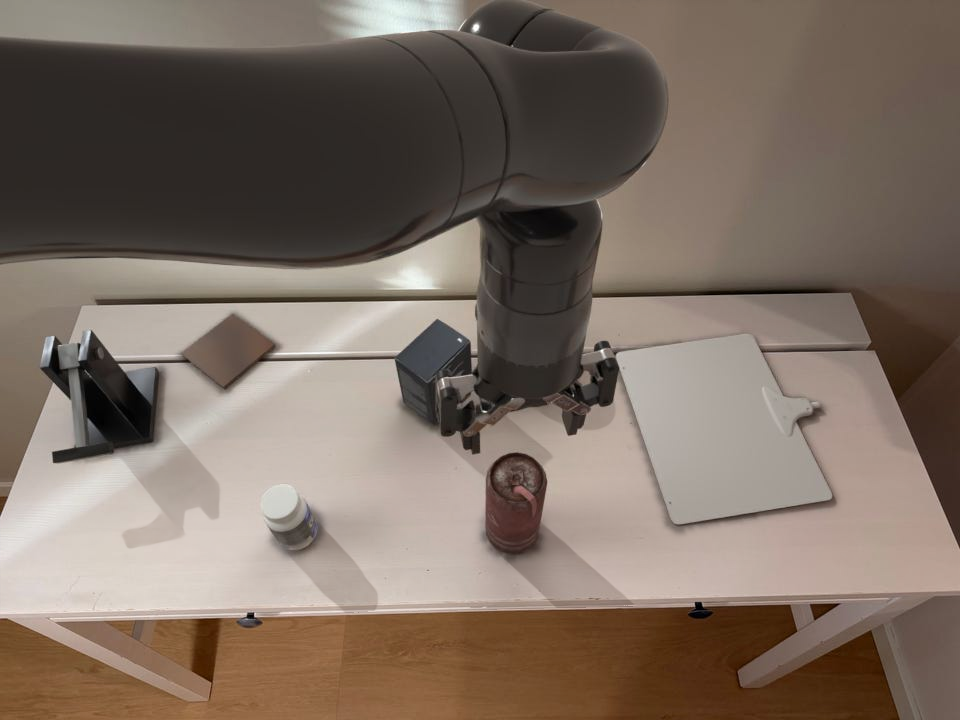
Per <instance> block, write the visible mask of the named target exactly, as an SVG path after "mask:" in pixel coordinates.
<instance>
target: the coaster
mask: <svg viewBox="0 0 960 720" xmlns="http://www.w3.org/2000/svg"><path fill="white" fill-rule="evenodd" d="M275 348H276V344H275V343H274V342H273V341H271V340H270V339H269V338H267V337H266V336H264V335H263V334H261V333H260V332H259V331H258V330H256V329H255V328H253V326H250V325H249V324H248V323H246V322H245V321H243V319H241V318H240V317H238V316H237V315H235V314H234V313H231V314H230V315H229V316H227V317H225V318H224V319H223V320H222V321H221V322H220V323H218V324H217V325H216V326H214V327H213V328H212V329H210V330H209V331H208V332H207V333H205V334H204V335H203V336H202V337H200V338H199V339H197V340H196V341H195V342H194V343H193V344H191V345H190V346H189V347H187V348H186V349H185V350H183V351H182V352H181V353H180V354H181V356H182V357H183V358H184V359H185V360H186V361H188V362H189V363H191V364H192V365H193V366H194V367H195V368H197V369H198V370H199V371H201V372H202V373H203V374H204V375H206V376H207V377H208V378H210V379H211V380H212V381H213V382H214V383H216V384H217V385H218V386H220V387H221V388H222V389H224V390H226V389H228V387H230V386H231V385H232V384H233V383H235V382H236V381H237V380H238V379H239V378H240V377H242V376H243V375H244V374H245V373H246V372H247V371H249V370H250V369H251V368H252V367H253V366H255V365H256V364H257V363H258V362H260V361H261V360H262V359H263V358H265V356H266V355H268V354H269V353H270V352H271V351H273V350H274V349H275Z"/></svg>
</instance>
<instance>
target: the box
mask: <svg viewBox="0 0 960 720" xmlns="http://www.w3.org/2000/svg"><path fill="white" fill-rule="evenodd" d="M394 363H395V368H396V373H397V378H398V383H399V387H400V393H401V398H402V403H403V404H405V405H406V406H407V407H408V408H410V409H411V410H413V412H415V413H416V414H418V415H419V416H420V417H422V418H423V419H424V420H425V421H426V422H428V423H430V424H431V425H432V426H435V425H437V423H439V422H438V417H437V412H436V373H437V372H438V371H439V370H442V369H449V370H450V371H451V373H452V377H458V376H465V375H471V374H472V372H473V364H472V363H473V361H472V340H470V338H468V337H466V336H465V335H464V334H462V333H461V332H459V331H458V330H456V329H455V328H453V327H451V326H450V325H448V323H445V322H444V321H442V320H440V319H439V318H436V319H435V320H434V321H433V322H431V324H430V325H428V326H427V327H426V328H425V329H424V330H423V331H422V332H421V333H419V335H417V336H416V337H415V338H413V340H412V341H411V342H410V343H408V345H407V346H405V347H404V348H403V349H402V350H401V351H400V352H399V353H398V354H397V355H396V356H394Z"/></svg>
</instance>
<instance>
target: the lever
mask: <svg viewBox="0 0 960 720" xmlns="http://www.w3.org/2000/svg"><path fill="white" fill-rule="evenodd" d="M80 345H81V342H72V343H65V344H63V345H58V355H59V366H60V369H61V370H64V371H67V372H68V374H69V384H70V395H71V400H70V405H71V414H72V424H73V434H74V447H75V446H76V447H75V448H74V447H70V448H64V449H60V450H53V451H52V452H51V458H52V463H53V464H65V463H70V462H76V461H80V460H87V459H93V458H97V457H103V456H108V455H113V454H115V449H114V447H113V442H103V443H97V444H92V445H90V442H89V432H88V422H87V412H86V402H85V392H84V382H83V372H82V371H83V370H85V369H84V368H83V367H82V366H81V365H80V364H79V362H78V357H79V351H80Z"/></svg>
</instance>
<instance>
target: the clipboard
mask: <svg viewBox="0 0 960 720" xmlns="http://www.w3.org/2000/svg"><path fill="white" fill-rule="evenodd" d="M615 358H616V361H617V363H618V366H619V372H620V374H621V377H622V379H623V384H624V386H625V389H626V392H627V395H628V398H629V400H630V404H631V406H632V409H633V413H634V415H635V418H636V422H637V424H638V427H639V430H640V433H641V436H642V438H643V442H644V445H645V447H646V451H647V453H648V456H649V460H650V463H651V465H652V469H653V471H654V474H655V477H656V480H657V483H658V486H659V489H660V492H661V495H662V497H663V500H664V504H665V507H666V510H667V512H668V516H669V519H670V521H671V522H672V523H673V524H674V525H677V526H679V525H685V524H692V523H697V522H704V521H710V520H716V519H722V518H728V517H729V518H730V517H735V516H741V515H746V514H753V513H759V512H765V511H772V510H778V509H784V508H789V507H795V506H800V505H801V506H802V505H809V504H814V503H820V502H826V501H830V500H831V499H832V498H833V493H832V490H831V489H830V487H829V485H828V483H827V480H826V479H825V477H824V474H823V473H822V470H821V469H820V466H819V465H818V462H817V461H816V458H815V457H814V455H813V452H812V451H811V448H810V447H809V445H808V443H807V440H806V439H805V436H804V435H803V433H802V430H801V428H800V426H799V425H798V423H797V420H799V419H800V418H804V417H809V416H811V415H812V414H813V413H814V410H815V409H819V408H821V403H820V402H819V401H812V402H811V401H810V400H809V399H808V398H807V397H798V398H793V397H789V396H784V395H783V393H782V390H781V388H780V386H779V384H778V382H777V380H776V379H775V377H774V375H773V373H772V371H771V369H770V366H769V364H768V363H767V361H766V358H765V357H764V354H763V352H762V351H761V349H760V346H759V345H758V343H757V340H756V338H755V337H754V335H752V334H750V333H741V334H740V333H739V334H734V335H733V334H732V335H727V336H719V337H713V338H706V339H700V340H692V341H686V342H679V343H672V344H665V345H664V344H663V345H657V346H651V347H650V346H649V347H643V348H637V349H636V348H635V349H630V350H623V351H618V352H617V353H616V354H615Z"/></svg>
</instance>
